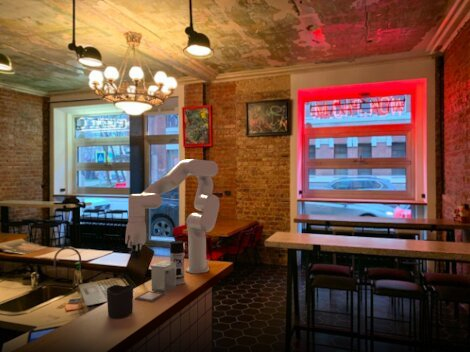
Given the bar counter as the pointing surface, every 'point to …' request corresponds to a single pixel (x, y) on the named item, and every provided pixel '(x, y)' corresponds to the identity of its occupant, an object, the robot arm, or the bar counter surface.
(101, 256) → the bar counter surface
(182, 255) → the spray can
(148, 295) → the pad
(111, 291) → the pen holder
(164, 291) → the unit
